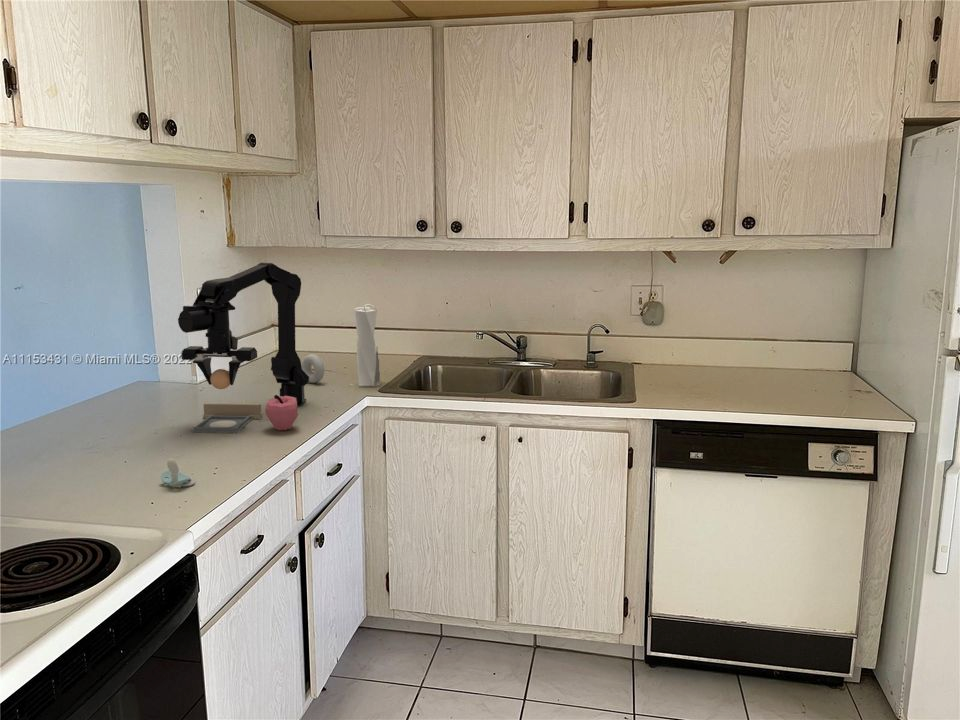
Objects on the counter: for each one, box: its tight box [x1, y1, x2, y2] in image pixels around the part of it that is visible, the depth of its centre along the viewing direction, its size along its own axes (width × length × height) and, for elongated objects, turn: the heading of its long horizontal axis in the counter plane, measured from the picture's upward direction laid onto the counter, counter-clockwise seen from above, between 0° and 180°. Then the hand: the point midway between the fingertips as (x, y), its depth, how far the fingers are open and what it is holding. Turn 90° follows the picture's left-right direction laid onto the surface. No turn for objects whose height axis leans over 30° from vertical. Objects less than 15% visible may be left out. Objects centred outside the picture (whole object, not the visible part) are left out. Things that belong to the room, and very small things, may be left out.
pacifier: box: [160, 458, 196, 488], centre depth 156 cm, size 7×6×6 cm
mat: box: [192, 416, 253, 434], centre depth 198 cm, size 12×12×1 cm
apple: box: [264, 394, 299, 431], centre depth 195 cm, size 10×9×10 cm
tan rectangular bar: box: [202, 402, 264, 420], centre depth 205 cm, size 16×3×4 cm, turn 90°
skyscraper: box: [353, 303, 381, 388], centre depth 242 cm, size 8×8×28 cm
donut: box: [301, 353, 325, 384], centre depth 246 cm, size 10×3×10 cm, turn 53°
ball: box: [210, 368, 231, 390], centre depth 196 cm, size 6×6×6 cm
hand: (221, 384), depth 196 cm, fingers closed on ball, 5 cm apart
